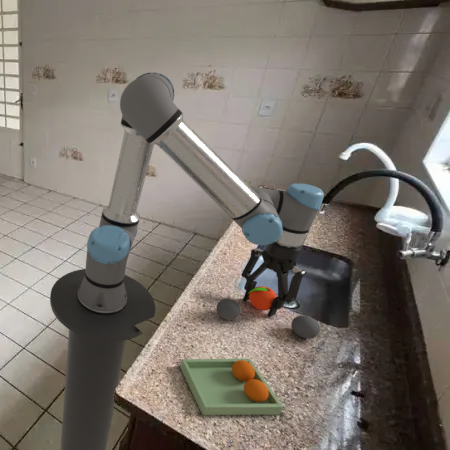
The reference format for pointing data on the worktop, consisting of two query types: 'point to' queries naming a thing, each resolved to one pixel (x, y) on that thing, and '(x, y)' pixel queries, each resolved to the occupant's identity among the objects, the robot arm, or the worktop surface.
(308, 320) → the grey ball
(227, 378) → the tray
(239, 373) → the orange ball
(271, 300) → the clementine
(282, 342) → the worktop surface
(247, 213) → the robot arm
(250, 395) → the orange ball
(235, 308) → the grey ball
